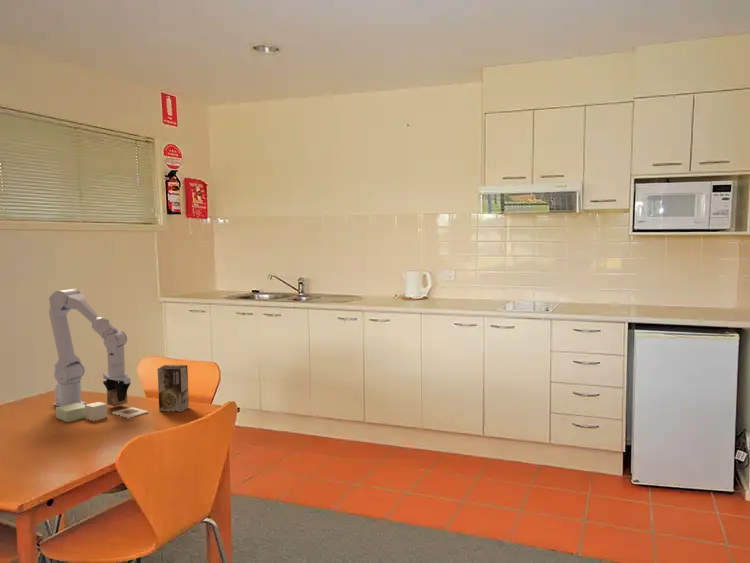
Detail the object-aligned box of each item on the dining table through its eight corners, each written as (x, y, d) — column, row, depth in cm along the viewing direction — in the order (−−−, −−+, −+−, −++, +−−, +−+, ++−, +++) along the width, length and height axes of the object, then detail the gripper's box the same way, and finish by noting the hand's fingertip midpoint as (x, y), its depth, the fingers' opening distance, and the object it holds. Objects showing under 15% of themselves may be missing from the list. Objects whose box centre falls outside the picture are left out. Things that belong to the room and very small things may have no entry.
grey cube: (85, 418, 208) (85, 404, 208) (99, 415, 212) (98, 401, 212) (93, 421, 205) (93, 407, 205) (107, 417, 210) (106, 403, 209)
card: (112, 413, 214) (112, 411, 214) (132, 408, 220) (131, 406, 220) (128, 418, 208) (128, 416, 208) (148, 412, 215) (148, 411, 215)
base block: (56, 418, 209) (55, 407, 209) (79, 413, 216) (78, 402, 215) (66, 422, 204) (66, 411, 204) (89, 417, 211) (89, 406, 210)
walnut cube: (107, 404, 221) (106, 391, 221) (119, 401, 226) (119, 388, 225) (115, 406, 219) (114, 393, 218) (127, 403, 223) (127, 390, 222)
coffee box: (189, 407, 222) (188, 364, 221) (182, 412, 216) (181, 368, 214) (166, 406, 223) (164, 364, 222) (158, 411, 216) (156, 368, 215)
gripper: (137, 364, 220) (138, 400, 221) (114, 360, 228) (115, 394, 229) (120, 367, 214) (121, 404, 215) (97, 363, 223) (98, 398, 224)
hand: (117, 399), depth 222 cm, fingers closed on walnut cube, 5 cm apart
